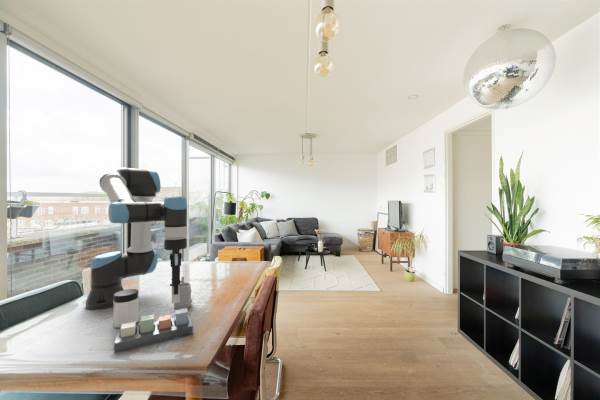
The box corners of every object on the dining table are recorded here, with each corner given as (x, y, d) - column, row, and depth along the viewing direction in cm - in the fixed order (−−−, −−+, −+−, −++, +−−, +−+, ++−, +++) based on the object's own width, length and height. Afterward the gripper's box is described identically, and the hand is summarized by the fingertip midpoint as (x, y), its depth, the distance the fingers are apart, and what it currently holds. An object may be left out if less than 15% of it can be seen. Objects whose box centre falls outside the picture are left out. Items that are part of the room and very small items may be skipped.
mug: (173, 311, 111) (173, 283, 112) (173, 301, 122) (173, 276, 122) (192, 307, 115) (192, 281, 115) (191, 299, 125) (191, 274, 126)
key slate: (175, 322, 96) (175, 310, 96) (186, 319, 98) (186, 308, 98) (175, 326, 92) (175, 314, 92) (187, 324, 94) (187, 312, 94)
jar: (107, 329, 96) (108, 297, 96) (118, 319, 104) (118, 289, 104) (134, 326, 98) (134, 295, 98) (142, 317, 106) (142, 288, 106)
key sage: (140, 329, 90) (140, 316, 90) (153, 326, 92) (153, 314, 92) (140, 334, 87) (140, 321, 87) (153, 331, 89) (153, 318, 89)
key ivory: (122, 337, 88) (122, 324, 88) (135, 334, 90) (135, 321, 90) (120, 342, 84) (120, 329, 84) (134, 339, 86) (135, 326, 86)
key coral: (158, 329, 93) (158, 317, 93) (170, 326, 95) (170, 314, 95) (158, 334, 90) (158, 321, 90) (171, 331, 91) (171, 318, 92)
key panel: (118, 336, 90) (119, 328, 90) (189, 321, 101) (189, 314, 101) (114, 352, 80) (114, 343, 80) (192, 334, 92) (192, 326, 92)
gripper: (164, 236, 98) (164, 298, 98) (164, 241, 86) (164, 310, 86) (185, 235, 101) (185, 294, 101) (188, 239, 90) (188, 306, 90)
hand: (175, 302), depth 94 cm, fingers closed
